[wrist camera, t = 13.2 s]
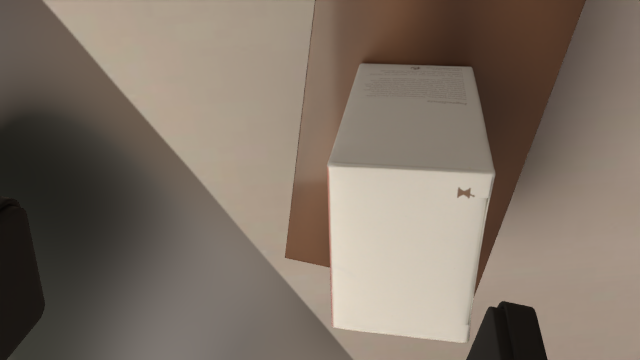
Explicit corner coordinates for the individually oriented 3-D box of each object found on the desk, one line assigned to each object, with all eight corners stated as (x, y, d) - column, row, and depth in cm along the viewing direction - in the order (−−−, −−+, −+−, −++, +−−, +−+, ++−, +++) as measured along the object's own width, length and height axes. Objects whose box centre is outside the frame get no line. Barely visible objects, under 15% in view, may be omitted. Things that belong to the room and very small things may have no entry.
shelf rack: (316, 173, 43) (284, 257, 34) (355, -103, 33) (325, -90, 24) (464, 203, 42) (473, 298, 33) (553, -73, 32) (603, -47, 23)
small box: (359, 60, 27) (323, 158, 18) (475, 63, 26) (499, 169, 17) (357, 196, 31) (327, 332, 22) (457, 203, 30) (469, 348, 21)
